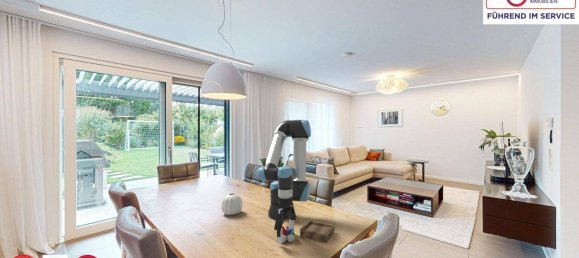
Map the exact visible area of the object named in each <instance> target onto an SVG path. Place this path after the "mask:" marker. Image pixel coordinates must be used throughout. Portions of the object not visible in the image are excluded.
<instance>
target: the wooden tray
mask: <svg viewBox="0 0 579 258" xmlns="http://www.w3.org/2000/svg"><path fill="white" fill-rule="evenodd" d="M334 234H335V224H332V223H326V222H325V223H324V222H321V221H314V220H307V222H306V223H305V224H304V225H303V226H301V227H300V229H299V237H300V238H304V239H308V240H311V241H317V242H321V243H328V241H330V239H332V236H333V235H334Z"/></svg>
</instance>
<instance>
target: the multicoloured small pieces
mask: <svg viewBox="0 0 579 258" xmlns="http://www.w3.org/2000/svg"><path fill="white" fill-rule="evenodd" d="M281 230H282V244H283V243H286V241H288V242H289V243H293V242H294V241H295V240H296V239H295V238H296V233H295V228H294V229H293V228H291V229H290V230H289V225H287V226H286V228H285V226H284V225H282V229H281ZM293 231H294V233H293Z"/></svg>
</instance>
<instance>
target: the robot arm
mask: <svg viewBox="0 0 579 258" xmlns="http://www.w3.org/2000/svg"><path fill="white" fill-rule="evenodd" d="M310 124H311V123H310V122H309V120H307V119H294V120H293V119H290V120H289V119H287V120H283V121H282V122H280V123H279V124H278V125H277V126H276V127H275V129H274V131H273V133H272V141H271V145H270V148H269V150H268V154H267V158H266V159H265V164H264V166H261V167H259V168H258V171H257V172H258V173H257V177H258V179H259V180H260V181H264V182H266V181H269V182H271V183H270V186H269V188H270V189H269V193H270V195H269V196H270V205H269V208H268V214H267V215H268V216H267V217H268V219H269V218H270V219H272V220H275V221H274V227H273V228H274V229H273V230H274V231H276V244H277V243H278V244H283V243H282V226H284V222H285V219H289V220H288V226H289V230H290V229H291V228H293V229H294V231H293V233H295V221H296V220H297V214H296V211H295V206H294V202H300V203H301V202H303V203H304V202H307V201H308V200H309V199H310V194H311V189H312V188H311V186H312V185H311V183H309V180H308V179H307V176H306V175H307V142H308V141H309V138H310V137H312V130H311V125H310ZM287 138H291V140H292V141H293V162H292V167H291V166H280V167H278V165H279V162H280V158H281V155H282V151H283V147H284V144H285V141H287ZM272 181H273V182H272Z"/></svg>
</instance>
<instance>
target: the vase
mask: <svg viewBox="0 0 579 258" xmlns="http://www.w3.org/2000/svg"><path fill="white" fill-rule="evenodd" d="M242 210H243V200H242V198H241V196H240V195H239V194H237V193H234V192H233V193H228V194H226V195H225V196H224V197H223V200H222V203H221V212H222V213H223V214H224V215H227V216H234V215H237V214H239V213H241V212H242Z"/></svg>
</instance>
